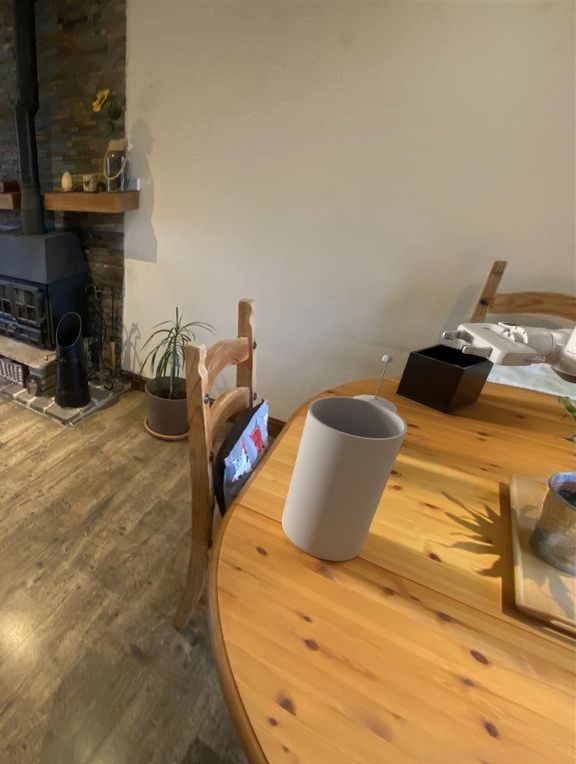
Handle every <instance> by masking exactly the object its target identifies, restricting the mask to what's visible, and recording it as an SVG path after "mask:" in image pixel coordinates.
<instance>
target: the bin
mask: <svg viewBox="0 0 576 764" xmlns="http://www.w3.org/2000/svg"><path fill="white" fill-rule="evenodd" d="M456 365H459V366H460V367H459V366H456ZM494 365H495V364H494V363H493V362H491V361H490V360H488V359H487V358H486V357H482V356H478V355H473V354H465V353H463V352H462V351H461V348H457V347H454V346H450V345H447V344H443V343H437V344H434V345H431V346H427V347H423V348H419V349H417V350H413V351H411V352H409V355H408V357H407V360H406V363H405V366H404V369H403V372H402V374H401V378H400V380H399V382H398V386H397V389H396V392H395V394H396V395H398V396H401V397H404V398H406V399H408V400H411V401H414V402H416V403H418V404H420V405H423V406H425V407H428V408H431V409H433V410H435V411H439V412H440V413H442V414H445V415H447V414H450V413H452V412H455V411H458V410H460V409H463V408H466V407H468V406H471V405H474V404H477V403H478V400H479V398H480V395H481V393H482V392H483V389H484V386H485V385H486V383H487V380H488V379H489V378H488V377H489V375H490V373H491V372H492V369H493V367H494Z"/></svg>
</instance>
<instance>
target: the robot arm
mask: <svg viewBox="0 0 576 764" xmlns="http://www.w3.org/2000/svg"><path fill="white" fill-rule="evenodd" d="M574 325H575V326H574V328H559V329H550V328H547V327H532V326H528V325H527V326H526V325H525V326H524V325H519V324H516V323H513V322H509V321H499V322H498V323H490V322H469V323H468V322H466V323H461V324H459V325H458V327H457V329H456V330H453V331H452V330H451V331H449V330H447V331H444V332H443V333H442V336H441V337H442V338H443V339H444V340H446V341H447V340H449V341H453V340H454V339H457V340H460V341H462V342H463V343H464V344H463V345H461V348H460V349H461V351H462V352H463V353H465V354H473V355H478V356H482V357H486V358H487V359H488V360H490V361H491V362H493V363H494V365H497V366H503V367H527V366H531V365H539V364H547V365H550V368H551V370H552V371H553V372H554V373H555V374H556V375H557V376H558V377H559V378H560V379H561V380H563V381H565V382H567V383H570V384H575V385H576V323H575V324H574Z"/></svg>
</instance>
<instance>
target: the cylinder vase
mask: <svg viewBox="0 0 576 764" xmlns="http://www.w3.org/2000/svg"><path fill="white" fill-rule="evenodd" d="M407 431H408V425H407V422H406V421H405V419H404V418H403V417H402V416H400V414H398V412H396V413H395V412H393V411H392V410H390V409H388V408H386V407H384V406H381V405H379V404H376V403H373V402H370V401H366V400H362V399H358V398H353V397H352V396H351V397H350V396H340V395H339V396H337V395H335V396H333V395H332V396H324V397H319V398H317V399H314V400H313V401H311V403H310V404H309V406H308V409H307V414H306V418H305V421H304V426H303V430H302V434H301V439H300V442H299V446H298V450H297V454H296V459H295V461H294V467H293V472H292V475H291V479H290V483H289V487H288V491H287V495H286V500H285V504H284V509H283V511H282V515H281V527H282V530H283V532H284V534H285V536H286V537H287V539H288V540H289V541H290V542H291V543H292V544H293V545H295V547H297V548H298V549H299V550H301V551H303V552H305V554H308V555H310V556H312V557H315V558H318V559H322V560H325V561H329V562H330V561H331V562H345V561H349V560H351V559H354V558H356V557H357V556H358V555H359V554H360V553H361V551H362V549H363V546H364V544H365V541H366V539H367V537H368V533H369V530H370V528H371V525H372V523H373V520H374V518H375V515H376V512H377V510H378V507H379V505H380V503H381V499H382V497H383V494H384V492H385V489H386V486H387V483H388V481H389V478H390V475H391V473H392V471H393V468H394V466H395V462H396V460H397V457H398V455H399V452H400V449H401V447H402V444H403V441H404V439H405V436H406V433H407Z"/></svg>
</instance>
